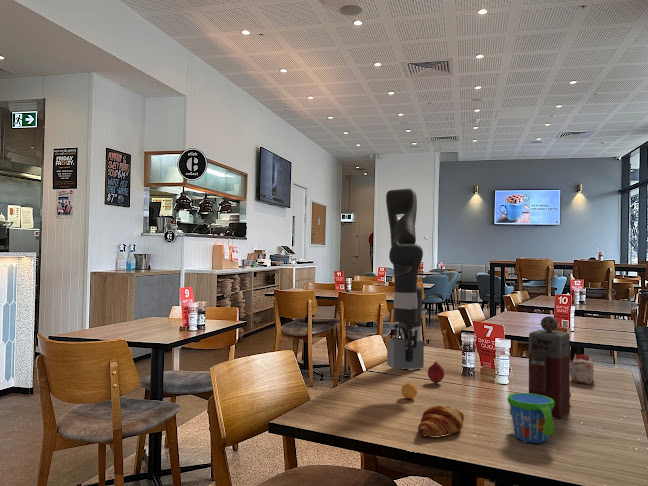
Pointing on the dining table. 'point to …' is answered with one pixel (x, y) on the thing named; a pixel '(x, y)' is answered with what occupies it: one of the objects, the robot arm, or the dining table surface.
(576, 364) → the food item
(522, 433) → the snack cup
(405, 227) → the robot arm
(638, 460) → the dining table surface
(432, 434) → the croissant
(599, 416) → the dining table surface
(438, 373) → the onion
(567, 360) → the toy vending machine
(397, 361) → the grey rectangular box
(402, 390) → the ball
